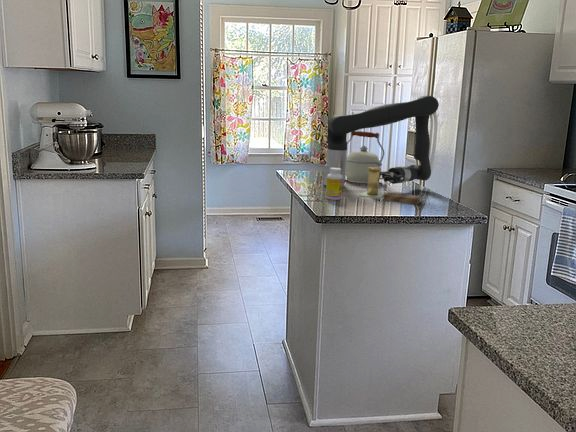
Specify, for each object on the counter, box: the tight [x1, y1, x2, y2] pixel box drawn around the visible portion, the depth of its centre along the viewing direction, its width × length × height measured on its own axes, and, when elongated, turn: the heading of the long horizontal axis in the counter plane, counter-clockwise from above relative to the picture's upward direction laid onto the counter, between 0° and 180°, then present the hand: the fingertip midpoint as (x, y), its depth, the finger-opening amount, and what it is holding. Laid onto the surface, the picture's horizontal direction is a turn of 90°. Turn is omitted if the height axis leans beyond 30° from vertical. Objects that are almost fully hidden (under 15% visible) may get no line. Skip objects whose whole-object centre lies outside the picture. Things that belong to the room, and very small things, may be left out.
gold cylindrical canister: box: [366, 167, 382, 196], centre depth 245 cm, size 6×6×12 cm
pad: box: [358, 191, 386, 200], centre depth 246 cm, size 9×9×1 cm
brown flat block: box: [382, 191, 421, 206], centre depth 238 cm, size 14×7×2 cm, turn 66°
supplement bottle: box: [325, 168, 343, 201], centre depth 234 cm, size 7×7×13 cm
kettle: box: [345, 130, 385, 184], centre depth 281 cm, size 25×18×25 cm
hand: (376, 177), depth 246 cm, fingers open, 8 cm apart
